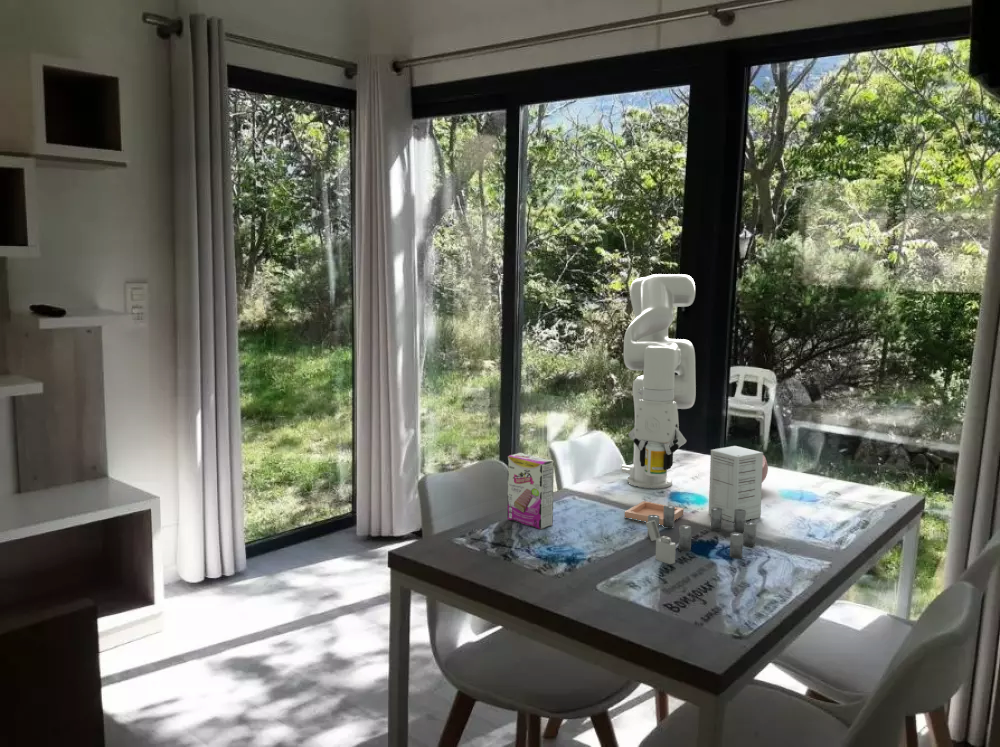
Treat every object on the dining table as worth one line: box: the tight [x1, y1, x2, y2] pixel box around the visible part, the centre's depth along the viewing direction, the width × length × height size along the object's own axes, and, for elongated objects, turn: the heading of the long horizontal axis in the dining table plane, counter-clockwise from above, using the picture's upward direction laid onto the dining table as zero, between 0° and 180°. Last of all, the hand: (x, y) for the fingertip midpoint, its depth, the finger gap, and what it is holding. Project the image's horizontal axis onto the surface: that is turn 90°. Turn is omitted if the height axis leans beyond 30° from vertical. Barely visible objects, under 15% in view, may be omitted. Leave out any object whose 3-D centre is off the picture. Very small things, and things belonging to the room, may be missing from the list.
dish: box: [624, 500, 685, 525], centre depth 207 cm, size 11×11×2 cm
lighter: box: [645, 520, 677, 565], centre depth 178 cm, size 7×2×8 cm, turn 40°
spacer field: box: [646, 504, 757, 560], centre depth 191 cm, size 23×22×5 cm
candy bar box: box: [506, 452, 555, 530], centre depth 201 cm, size 11×5×16 cm, turn 47°
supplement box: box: [708, 445, 764, 523], centre depth 207 cm, size 10×9×17 cm
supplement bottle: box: [645, 441, 668, 477], centre depth 204 cm, size 5×5×10 cm
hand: (655, 466), depth 205 cm, fingers closed on supplement bottle, 5 cm apart
